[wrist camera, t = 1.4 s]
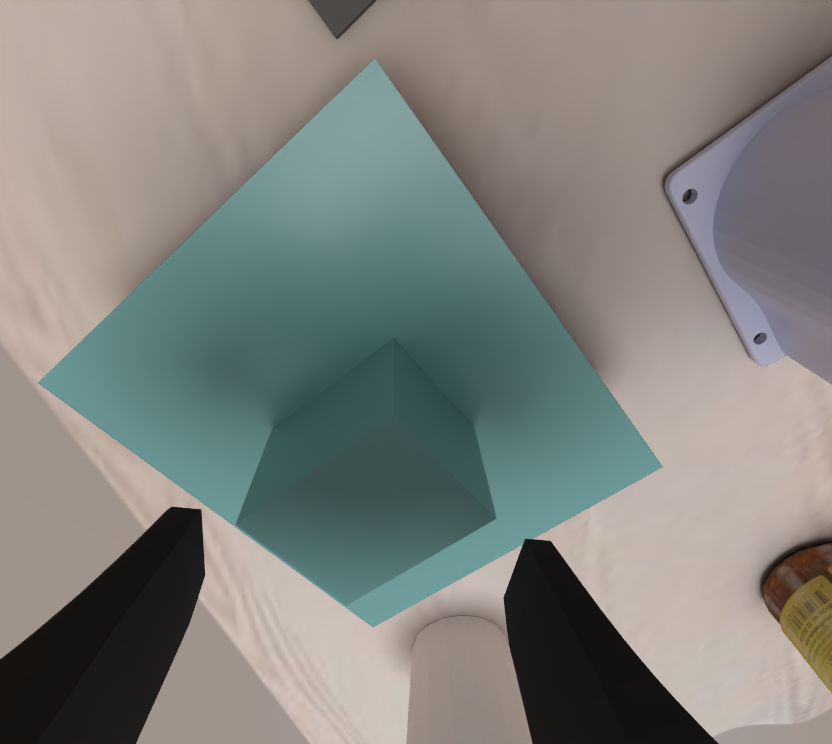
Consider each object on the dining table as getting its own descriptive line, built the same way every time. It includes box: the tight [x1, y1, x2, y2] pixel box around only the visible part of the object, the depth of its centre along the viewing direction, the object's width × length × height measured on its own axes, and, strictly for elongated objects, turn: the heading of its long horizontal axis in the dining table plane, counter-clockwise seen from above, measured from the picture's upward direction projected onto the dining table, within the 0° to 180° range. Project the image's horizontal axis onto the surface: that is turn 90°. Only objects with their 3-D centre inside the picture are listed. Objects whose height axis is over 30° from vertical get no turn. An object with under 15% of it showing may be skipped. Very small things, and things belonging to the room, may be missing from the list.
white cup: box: [406, 615, 532, 744], centre depth 27 cm, size 7×7×7 cm
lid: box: [38, 59, 663, 627], centre depth 15 cm, size 15×13×6 cm
